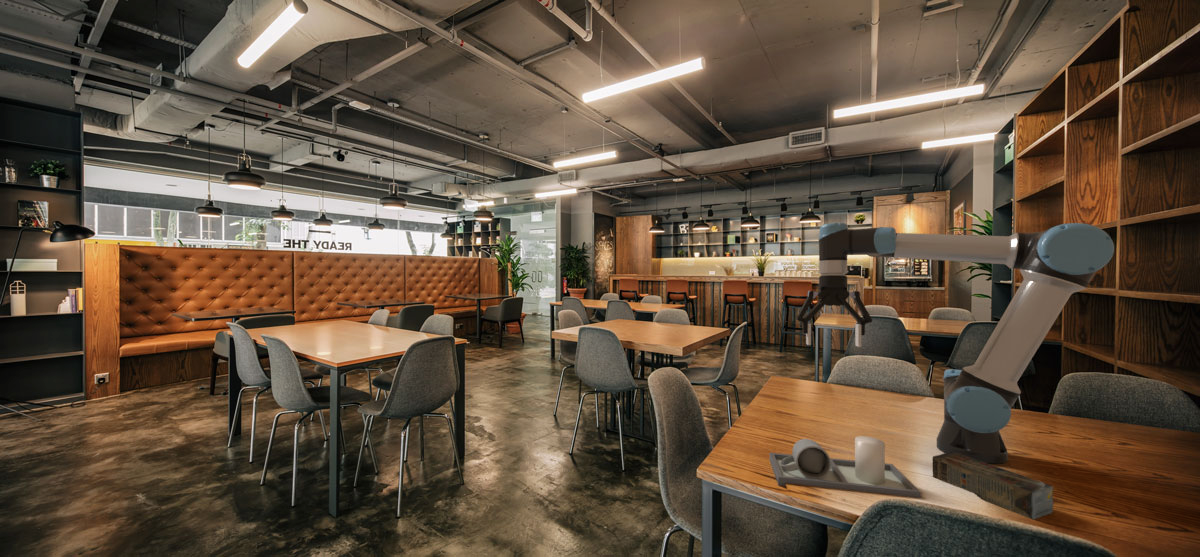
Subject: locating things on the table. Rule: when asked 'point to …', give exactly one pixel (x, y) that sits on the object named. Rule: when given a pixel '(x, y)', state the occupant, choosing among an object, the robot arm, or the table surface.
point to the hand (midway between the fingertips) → (833, 345)
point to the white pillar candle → (870, 460)
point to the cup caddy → (846, 478)
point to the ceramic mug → (808, 459)
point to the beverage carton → (995, 484)
